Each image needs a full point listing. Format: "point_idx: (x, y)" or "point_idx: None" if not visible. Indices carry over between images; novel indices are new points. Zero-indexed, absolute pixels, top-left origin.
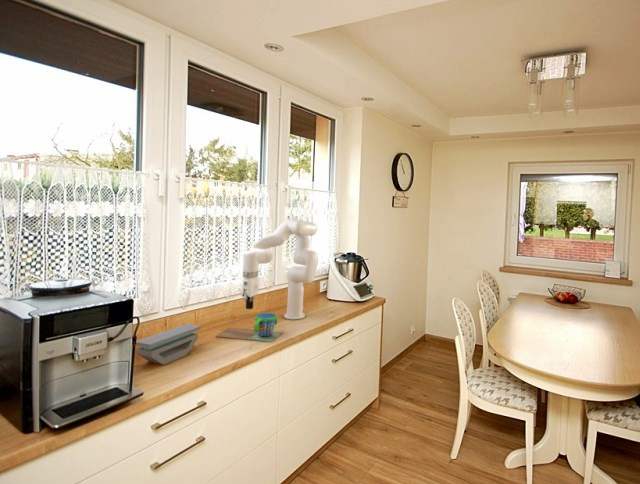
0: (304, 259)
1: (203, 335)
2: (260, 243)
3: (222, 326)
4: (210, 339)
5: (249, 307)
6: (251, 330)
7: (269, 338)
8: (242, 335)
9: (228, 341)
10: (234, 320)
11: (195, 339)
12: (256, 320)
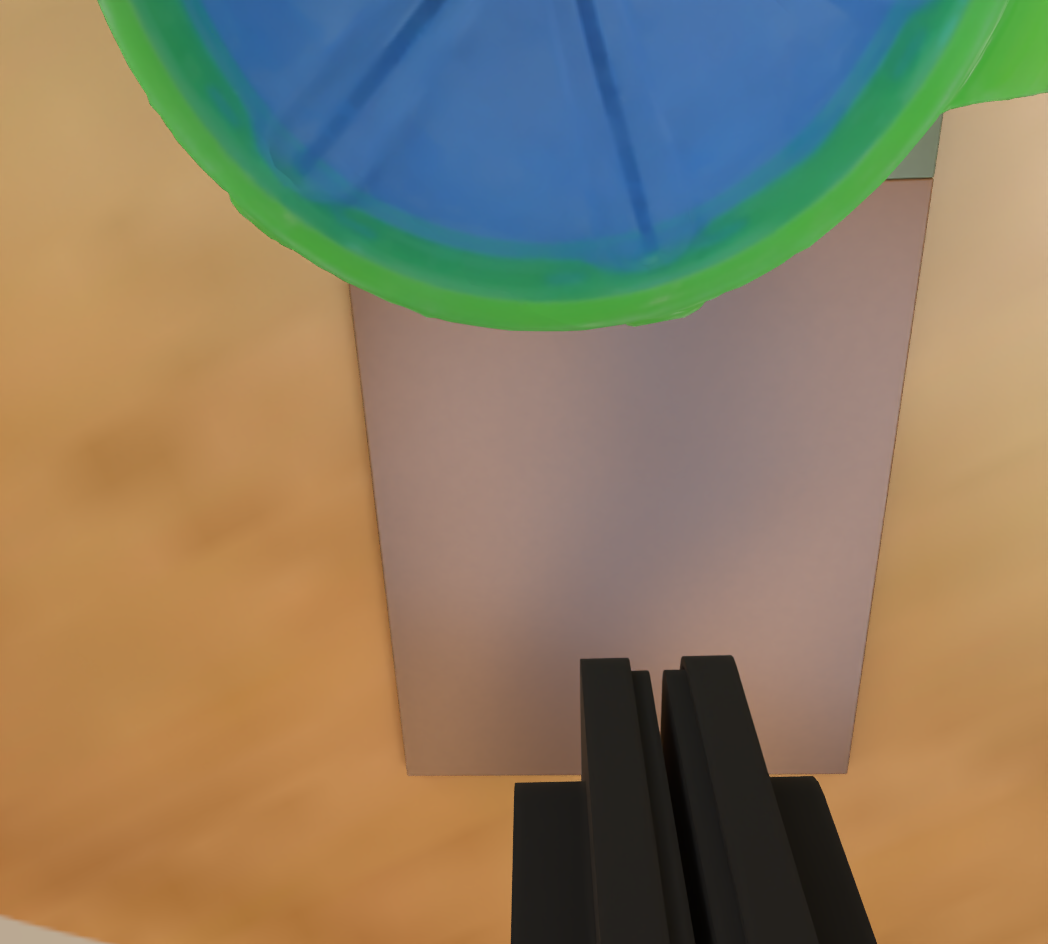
0: None
1: None
2: None
3: (353, 903)
4: (963, 786)
5: (784, 777)
6: (395, 386)
7: None
8: (730, 408)
9: (1041, 500)
10: (18, 888)
11: None
12: (1043, 83)
